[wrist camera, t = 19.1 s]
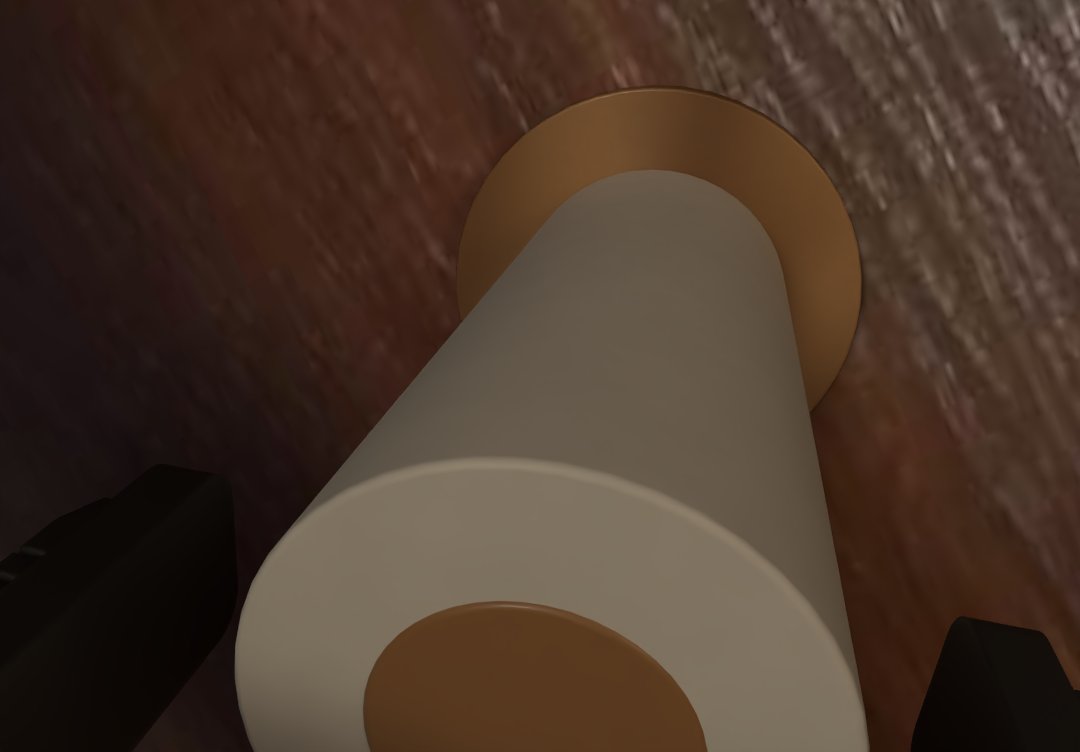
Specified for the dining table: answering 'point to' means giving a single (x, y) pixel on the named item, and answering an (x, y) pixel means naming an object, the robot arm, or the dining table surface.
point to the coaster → (698, 150)
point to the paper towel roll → (576, 518)
